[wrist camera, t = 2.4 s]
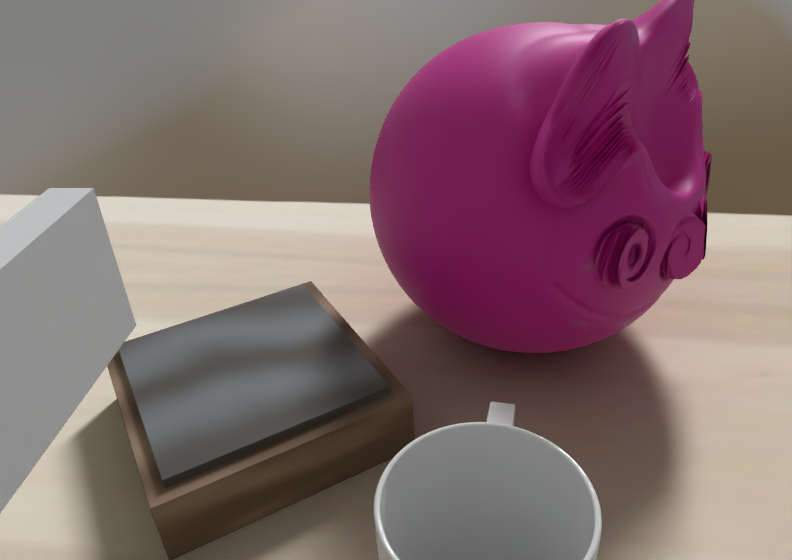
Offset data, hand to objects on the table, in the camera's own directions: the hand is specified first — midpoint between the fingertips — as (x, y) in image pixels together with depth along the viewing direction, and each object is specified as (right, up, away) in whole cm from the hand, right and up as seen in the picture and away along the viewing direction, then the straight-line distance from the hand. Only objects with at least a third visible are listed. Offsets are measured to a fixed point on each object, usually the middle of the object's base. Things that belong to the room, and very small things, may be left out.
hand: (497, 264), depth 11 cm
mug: (+3, -18, +23) cm, 29 cm away
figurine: (+9, -4, +44) cm, 45 cm away
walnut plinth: (-11, -10, +36) cm, 39 cm away
